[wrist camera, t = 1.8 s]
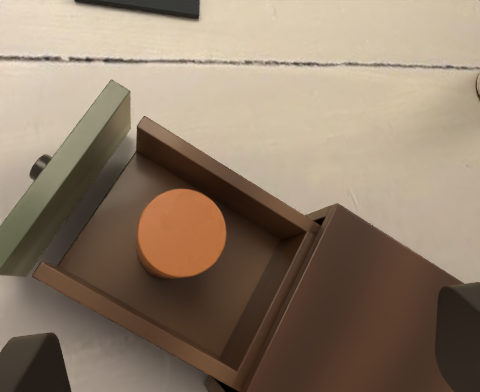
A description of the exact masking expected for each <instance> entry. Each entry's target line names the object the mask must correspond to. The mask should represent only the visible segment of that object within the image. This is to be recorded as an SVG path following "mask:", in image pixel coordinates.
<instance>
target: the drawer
mask: <svg viewBox="0 0 480 392" xmlns="http://www.w3.org/2000/svg"><path fill="white" fill-rule="evenodd" d="M130 129H131V115H130V91H129V90H128V89H126V88H124V87H123V86H121V85H120V84H118V83H117V82H115V81H113V80H111V81H110V82H109V83H108V85H107V86H106V87H105V88H104V90H103V91H102V92H101V94H100V95H99V96H98V98H97V99H96V100H95V102H94V103H93V104H92V106H91V107H90V108H89V110H88V111H87V112H86V114H85V115H84V116H83V118H82V119H81V120H80V121H79V123H78V124H77V125H76V127H75V128H74V129H73V131H72V132H71V133H70V135H69V136H68V137H67V139H66V140H65V141H64V143H63V144H62V145H61V147H60V148H59V149H58V150H57V152H56V153H55V154H54V156H53V157H50V156H49V155H46V154H45V155H43V156H41V157H40V158H39V159H38V160H37V161H36V162H35V164H34V165H33V167H32V169H31V171H30V178H31V179H33V180H35V181H34V182H33V183H32V185H31V186H30V187H29V189H28V190H27V191H26V193H25V194H24V195H23V197H22V198H21V199H20V201H19V202H18V203H17V205H16V206H15V207H14V209H13V210H12V211H11V213H10V214H9V215H8V216H7V218H6V219H5V220H4V222H3V223H2V224H1V226H0V275H6V276H24V277H26V276H27V275H28V273H29V272H30V270H31V269H32V268H33V266H34V265H35V263H36V262H37V260H38V259H39V258H40V256H41V255H42V253H43V252H44V251H45V249H46V248H47V246H48V245H49V243H50V242H51V241H52V239H53V238H54V236H55V235H56V234H57V232H58V231H59V229H60V228H61V226H62V225H63V224H64V222H65V221H66V219H67V218H68V217H69V215H70V214H71V212H72V211H73V209H74V208H75V207H76V205H77V204H78V202H79V201H80V200H81V198H82V197H83V195H84V194H85V192H86V191H87V190H88V188H89V187H90V185H91V184H92V183H93V181H94V180H95V178H96V177H97V175H98V174H99V173H100V171H101V170H102V168H103V167H104V166H105V164H106V163H107V161H108V160H109V158H110V157H111V156H112V154H113V153H114V151H115V150H116V149H117V147H118V146H119V144H120V143H121V142H122V140H123V139H124V137H125V136H126V134H127V133H128V132H129V130H130ZM174 189H190V190H194V191H197V192H200V193H202V194H203V195H205V196H207V197H208V198H210V199H211V200H212V201H213V202H214V203H215V204H216V205H217V207H218V208H219V210H220V211H221V213H222V215H223V218H224V221H225V225H226V241H225V246H224V249H223V251H222V253H221V255H220V257H219V258H218V260H217V261H216V262H215V263H214V264H213V265H212V266H211V267H210V268H209V269H207V270H206V271H204V272H202V273H200V274H198V275H195V276H191V277H184V278H174V279H162V278H158V277H155V276H153V275H151V274H150V273H148V272H147V271H146V270H145V269H144V268H143V267H142V265H141V264H140V262H139V260H138V258H137V254H136V238H137V228H138V222H139V219H140V216H141V214H142V212H143V210H144V209H145V207H146V206H147V205H148V204H149V203H150V202H151V200H153V199H154V198H155V197H157V196H158V195H160V194H162V193H164V192H166V191H170V190H174ZM320 228H321V226H320V225H319V224H317V223H316V222H314V221H312V220H311V219H309V218H308V217H306V216H304V215H303V214H301V213H300V212H298V211H296V210H295V209H293V208H292V207H290V206H288V205H287V204H285V203H284V202H282V201H280V200H279V199H277V198H276V197H274V196H272V195H271V194H269V193H268V192H266V191H264V190H263V189H261V188H260V187H258V186H256V185H255V184H253V183H251V182H250V181H248V180H247V179H245V178H243V177H242V176H240V175H239V174H237V173H235V172H234V171H232V170H231V169H229V168H227V167H226V166H224V165H223V164H221V163H219V162H218V161H216V160H215V159H213V158H211V157H210V156H208V155H207V154H205V153H203V152H202V151H200V150H199V149H197V148H195V147H194V146H192V145H191V144H189V143H187V142H186V141H184V140H183V139H181V138H179V137H178V136H176V135H175V134H173V133H171V132H170V131H168V130H167V129H165V128H163V127H162V126H160V125H159V124H157V123H155V122H154V121H152V120H151V119H149V118H147V117H146V116H144V117H143V118H142V120H141V121H140V122H139V124H138V125H137V143H136V152H135V154H134V155H133V156H132V158H131V159H130V161H129V162H128V164H127V165H126V167H125V168H124V170H123V171H122V172H121V174H120V175H119V177H118V178H117V180H116V181H115V183H114V184H113V186H112V187H111V188H110V190H109V191H108V193H107V194H106V196H105V197H104V199H103V200H102V202H101V203H100V204H99V206H98V207H97V209H96V210H95V212H94V213H93V215H92V216H91V218H90V219H89V220H88V222H87V223H86V225H85V226H84V228H83V229H82V231H81V232H80V234H79V235H78V237H77V238H76V239H75V241H74V242H73V244H72V245H71V247H70V248H69V250H68V251H67V253H66V254H65V255H64V257H63V258H62V260H61V261H60V263H59V264H58V266H57V265H53V264H48V263H44V262H41V263H40V265H39V266H38V268H37V269H36V271H35V272H34V273H33V275H32V277H34V278H36V279H37V280H39V281H41V282H43V283H45V284H46V285H48V286H50V287H52V288H54V289H55V290H57V291H59V292H61V293H63V294H64V295H66V296H68V297H70V298H72V299H73V300H75V301H77V302H79V303H81V304H82V305H84V306H86V307H88V308H90V309H91V310H93V311H95V312H97V313H99V314H100V315H102V316H104V317H106V318H108V319H109V320H111V321H113V322H115V323H117V324H118V325H120V326H122V327H124V328H126V329H127V330H129V331H131V332H133V333H135V334H136V335H138V336H140V337H142V338H144V339H145V340H147V341H149V342H151V343H153V344H154V345H156V346H158V347H160V348H162V349H163V350H165V351H167V352H169V353H171V354H172V355H174V356H176V357H178V358H180V359H181V360H183V361H185V362H187V363H189V364H190V365H192V366H194V367H196V368H197V369H199V370H201V371H203V372H205V373H206V374H208V375H210V376H212V377H214V378H215V379H217V380H219V381H221V382H223V383H224V384H226V385H228V386H230V387H232V388H233V389H235V390H237V391H239V392H241V390H242V388H243V385H244V383H245V381H246V379H247V377H248V375H249V373H250V371H251V369H252V367H253V365H254V363H255V361H256V359H257V357H258V355H259V353H260V351H261V349H262V347H263V345H264V342H265V340H266V338H267V336H268V334H269V332H270V330H271V328H272V326H273V324H274V322H275V320H276V318H277V316H278V314H279V312H280V310H281V308H282V306H283V304H284V302H285V299H286V297H287V295H288V293H289V291H290V289H291V287H292V285H293V283H294V281H295V279H296V277H297V275H298V273H299V271H300V269H301V267H302V265H303V263H304V261H305V259H306V257H307V254H308V252H309V250H310V248H311V246H312V244H313V242H314V240H315V238H316V236H317V234H318V232H319V230H320Z"/></svg>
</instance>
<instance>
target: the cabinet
mask: <svg viewBox="0 0 480 392" xmlns="http://www.w3.org/2000/svg"><path fill="white" fill-rule="evenodd" d="M305 216H306V217H308V218H309V219H311V220H312V221H314V222H316V223H317V224H319V225H320V226H321V228H320V230H319V232H318V234H317V236H316V238H315V240H314V242H313V244H312V246H311V248H310V250H309V252H308V254H307V257H306V259H305V261H304V263H303V265H302V267H301V269H300V271H299V273H298V275H297V277H296V279H295V281H294V283H293V285H292V287H291V289H290V291H289V293H288V295H287V297H286V299H285V302H284V304H283V306H282V308H281V310H280V312H279V314H278V316H277V318H276V320H275V322H274V324H273V326H272V328H271V330H270V332H269V334H268V336H267V338H266V340H265V342H264V345H263V347H262V349H261V351H260V353H259V355H258V357H257V359H256V361H255V363H254V365H253V367H252V369H251V371H250V373H249V375H248V377H247V379H246V381H245V383H244V385H243V388H242V390H241V392H454V391H453V390H452V388H451V387H450V386H449V385H448V383H447V382H446V381H445V379H444V378H443V376H442V374H441V372H440V370H439V367H438V364H437V361H436V356H435V338H436V322H437V306H438V295H439V291H440V290H441V288H442V287H444V286H451V285H460V284H464V283H463V282H461V281H459V280H458V279H456V278H455V277H453V276H452V275H450V274H448V273H447V272H445V271H444V270H442V269H440V268H439V267H437V266H436V265H434V264H433V263H431V262H429V261H428V260H426V259H425V258H423V257H422V256H420V255H418V254H417V253H415V252H414V251H412V250H411V249H409V248H407V247H406V246H404V245H403V244H401V243H400V242H398V241H396V240H395V239H393V238H392V237H390V236H388V235H387V234H385V233H384V232H382V231H381V230H379V229H377V228H376V227H374V226H373V225H371V224H370V223H368V222H366V221H365V220H363V219H362V218H360V217H359V216H357V215H355V214H354V213H352V212H351V211H349V210H348V209H346V208H344V207H343V206H341V205H340V204H338V203H337V204H334V205H332V206H328V207H326V208H323V209H320V210H318V211H315V212H313V213H310V214H308V215H305ZM205 386H206V388H207V390H208V391H209V392H239V391H237V390H235V389H233V388H232V387H230V386H228V385H226V384H224V383H223V382H221V381H219V380H217V379H215V378H214V377H212V376H209V378H208V380H207V382H206V384H205Z"/></svg>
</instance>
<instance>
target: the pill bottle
mask: <svg viewBox="0 0 480 392" xmlns="http://www.w3.org/2000/svg"><path fill="white" fill-rule="evenodd" d="M477 90H478V93H479V96H480V74H479V76H478V79H477Z"/></svg>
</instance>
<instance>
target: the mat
mask: <svg viewBox="0 0 480 392" xmlns="http://www.w3.org/2000/svg"><path fill="white" fill-rule="evenodd" d="M75 1H78V2H85V3H92V4H99V5H106V6H113V7H120V8H127V9H134V10H141V11H148V12H155V13H162V14H169V15H176V16H183V17H190V18H197V19H198V17H199V0H75Z"/></svg>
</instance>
